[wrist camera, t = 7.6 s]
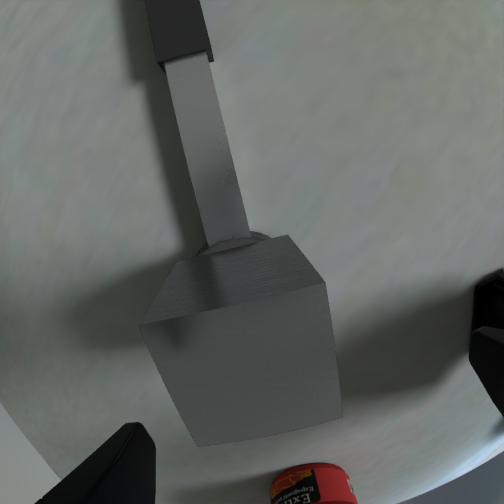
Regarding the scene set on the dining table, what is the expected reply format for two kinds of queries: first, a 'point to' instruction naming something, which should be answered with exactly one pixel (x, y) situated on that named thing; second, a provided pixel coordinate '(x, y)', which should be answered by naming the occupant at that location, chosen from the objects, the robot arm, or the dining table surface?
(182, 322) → the grey bevelled cube
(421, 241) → the dining table surface
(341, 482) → the canned food
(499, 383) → the robot arm
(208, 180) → the ratchet
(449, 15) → the dining table surface
